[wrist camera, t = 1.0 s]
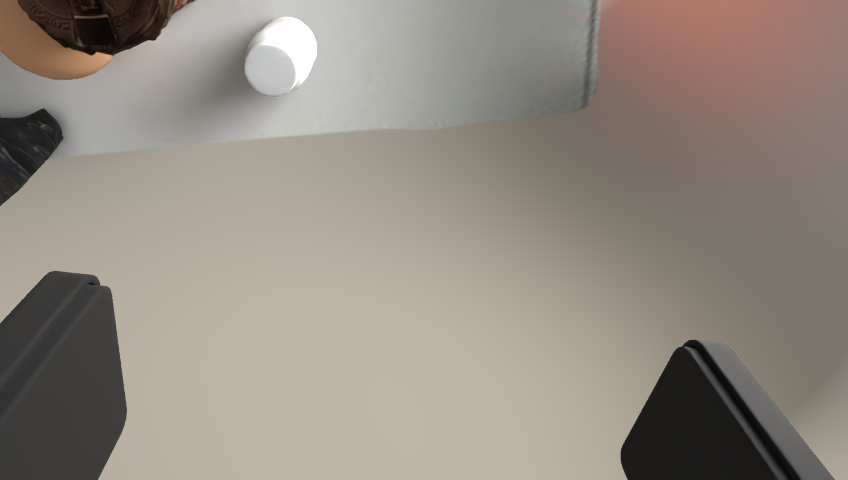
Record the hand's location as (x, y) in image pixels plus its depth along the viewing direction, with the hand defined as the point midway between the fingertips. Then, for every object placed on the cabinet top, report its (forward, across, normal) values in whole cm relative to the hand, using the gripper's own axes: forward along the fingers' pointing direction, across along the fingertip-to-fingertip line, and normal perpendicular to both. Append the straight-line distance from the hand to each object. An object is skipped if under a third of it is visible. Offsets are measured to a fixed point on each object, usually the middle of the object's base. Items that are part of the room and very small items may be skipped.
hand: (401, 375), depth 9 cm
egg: (+38, +22, +4) cm, 44 cm away
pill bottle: (+38, +7, +4) cm, 39 cm away
